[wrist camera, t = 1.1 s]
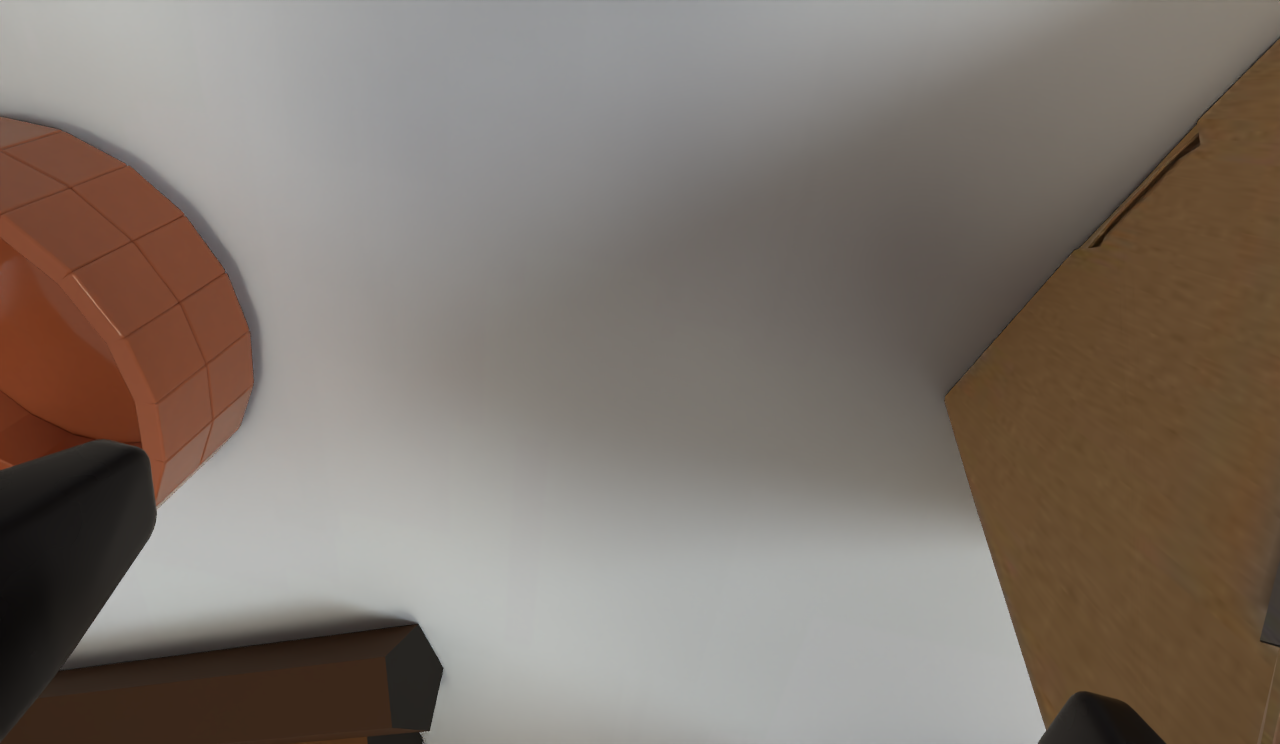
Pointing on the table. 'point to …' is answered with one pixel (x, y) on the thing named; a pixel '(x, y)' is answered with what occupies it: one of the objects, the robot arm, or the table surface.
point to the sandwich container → (1149, 443)
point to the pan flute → (249, 695)
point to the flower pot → (110, 313)
